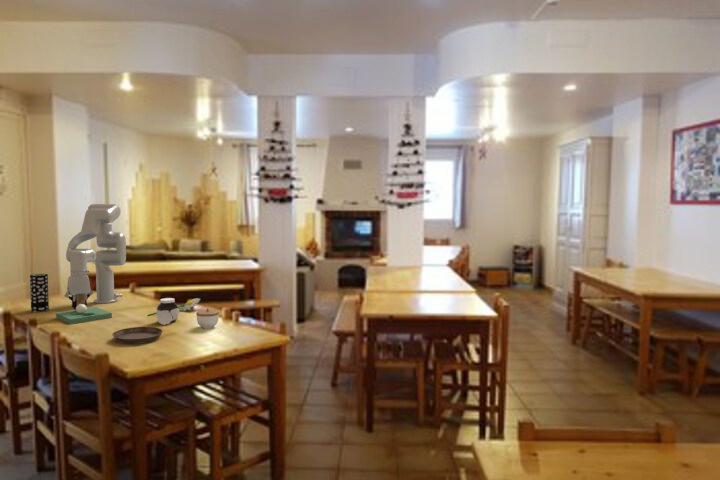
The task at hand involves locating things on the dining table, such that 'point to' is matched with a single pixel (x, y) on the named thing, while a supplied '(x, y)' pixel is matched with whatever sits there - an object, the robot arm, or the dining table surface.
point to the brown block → (80, 299)
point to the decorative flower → (185, 305)
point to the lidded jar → (207, 318)
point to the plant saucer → (137, 335)
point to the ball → (81, 308)
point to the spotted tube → (39, 292)
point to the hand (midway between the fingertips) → (79, 307)
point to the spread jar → (167, 311)
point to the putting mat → (83, 315)
